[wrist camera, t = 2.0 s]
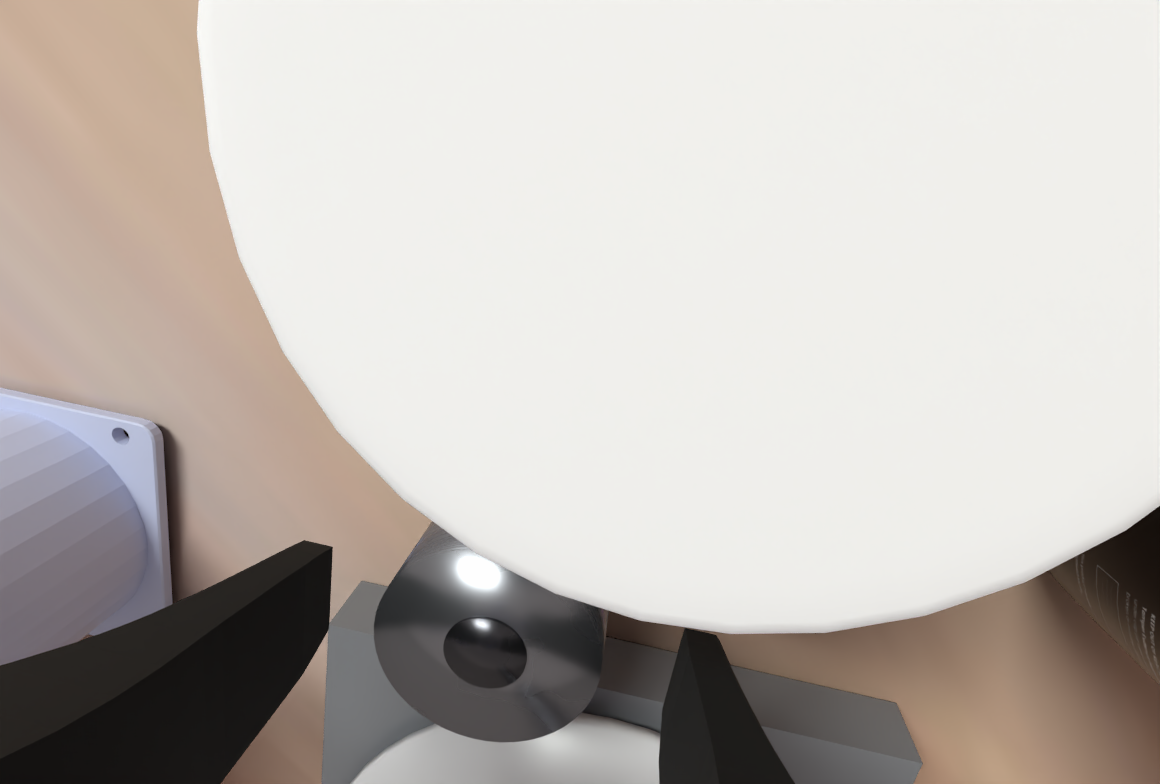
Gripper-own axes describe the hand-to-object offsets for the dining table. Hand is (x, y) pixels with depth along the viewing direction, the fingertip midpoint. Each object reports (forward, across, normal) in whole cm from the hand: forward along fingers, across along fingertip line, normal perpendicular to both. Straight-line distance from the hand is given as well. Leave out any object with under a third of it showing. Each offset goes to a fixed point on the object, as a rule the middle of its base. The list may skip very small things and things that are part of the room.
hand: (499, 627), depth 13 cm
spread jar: (+6, -3, -11) cm, 13 cm away
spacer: (+5, 0, 0) cm, 5 cm away
